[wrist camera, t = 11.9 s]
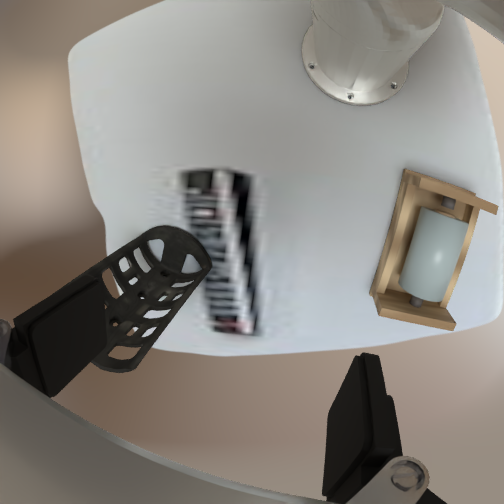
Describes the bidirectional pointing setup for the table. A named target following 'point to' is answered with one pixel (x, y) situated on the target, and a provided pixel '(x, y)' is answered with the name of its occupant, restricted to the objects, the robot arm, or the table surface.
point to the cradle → (399, 239)
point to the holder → (145, 292)
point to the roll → (433, 254)
